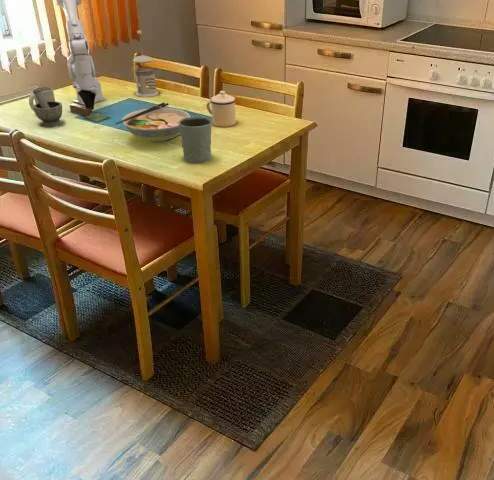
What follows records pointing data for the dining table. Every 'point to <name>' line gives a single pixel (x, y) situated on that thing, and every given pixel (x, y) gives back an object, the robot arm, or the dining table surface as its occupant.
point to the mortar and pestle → (47, 110)
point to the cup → (47, 94)
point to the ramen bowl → (155, 123)
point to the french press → (144, 76)
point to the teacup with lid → (222, 110)
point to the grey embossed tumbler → (196, 139)
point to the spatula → (87, 113)
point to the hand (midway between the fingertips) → (90, 109)
